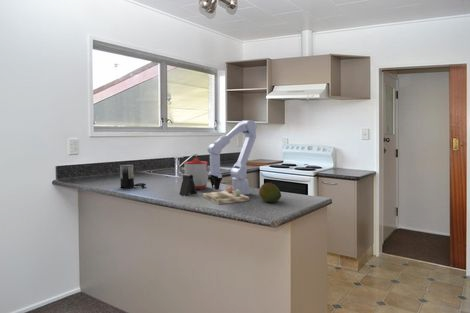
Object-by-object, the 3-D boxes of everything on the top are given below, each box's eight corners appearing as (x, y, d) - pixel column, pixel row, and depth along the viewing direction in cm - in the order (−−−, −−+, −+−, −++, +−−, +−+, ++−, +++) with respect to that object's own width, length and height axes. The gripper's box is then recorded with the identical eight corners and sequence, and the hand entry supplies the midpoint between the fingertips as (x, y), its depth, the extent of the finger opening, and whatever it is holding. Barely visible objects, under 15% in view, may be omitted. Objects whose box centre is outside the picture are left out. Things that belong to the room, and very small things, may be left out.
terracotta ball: (231, 191, 216) (231, 185, 216) (233, 192, 213) (233, 186, 212) (225, 192, 214) (225, 186, 214) (228, 193, 211) (228, 187, 211)
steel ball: (217, 189, 213) (217, 183, 213) (219, 190, 210) (219, 184, 210) (211, 190, 212) (211, 184, 211) (213, 191, 208) (213, 184, 208)
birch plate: (231, 193, 220) (231, 190, 220) (248, 200, 200) (248, 197, 200) (203, 196, 212) (203, 193, 212) (218, 204, 192) (218, 200, 192)
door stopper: (185, 196, 215) (185, 175, 214) (179, 194, 219) (178, 174, 218) (197, 193, 222) (196, 173, 221) (190, 192, 226) (190, 173, 225)
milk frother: (119, 186, 250) (118, 165, 249) (142, 184, 257) (142, 163, 255) (122, 190, 237) (121, 167, 236) (147, 188, 244) (146, 165, 242)
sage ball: (239, 194, 206) (239, 188, 206) (242, 196, 203) (242, 189, 203) (233, 195, 204) (233, 189, 204) (236, 196, 201) (236, 190, 201)
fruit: (267, 198, 205) (267, 180, 204) (286, 201, 197) (286, 182, 196) (254, 202, 196) (254, 183, 195) (274, 205, 188) (274, 186, 187)
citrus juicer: (210, 190, 232) (209, 158, 230) (182, 190, 233) (182, 158, 231) (212, 185, 248) (211, 156, 246) (186, 186, 248) (185, 156, 246)
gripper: (203, 164, 214) (204, 187, 215) (213, 167, 201) (213, 191, 202) (215, 163, 217) (215, 186, 218) (225, 166, 204) (225, 190, 205)
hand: (215, 188), depth 211 cm, fingers closed on steel ball, 3 cm apart
